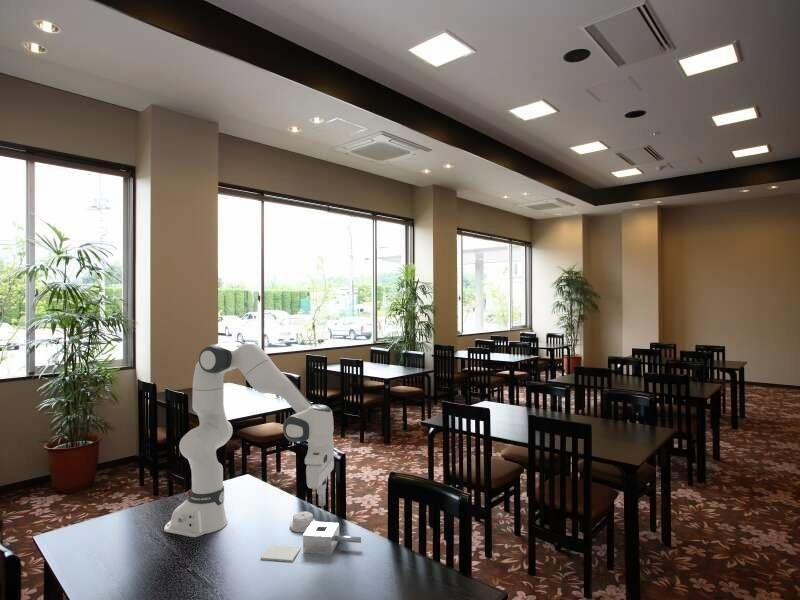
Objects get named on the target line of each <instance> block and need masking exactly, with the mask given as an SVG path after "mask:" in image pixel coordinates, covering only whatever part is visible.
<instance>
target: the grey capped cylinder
mask: <svg viewBox="0 0 800 600" xmlns="http://www.w3.org/2000/svg"><path fill="white" fill-rule="evenodd" d="M325 484H326V485H327V482H326V479H325V480H324V481H323V482H322V488H323V492H322V494H317V495H318V506H320V507H324V506H326V489H325Z"/></svg>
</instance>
